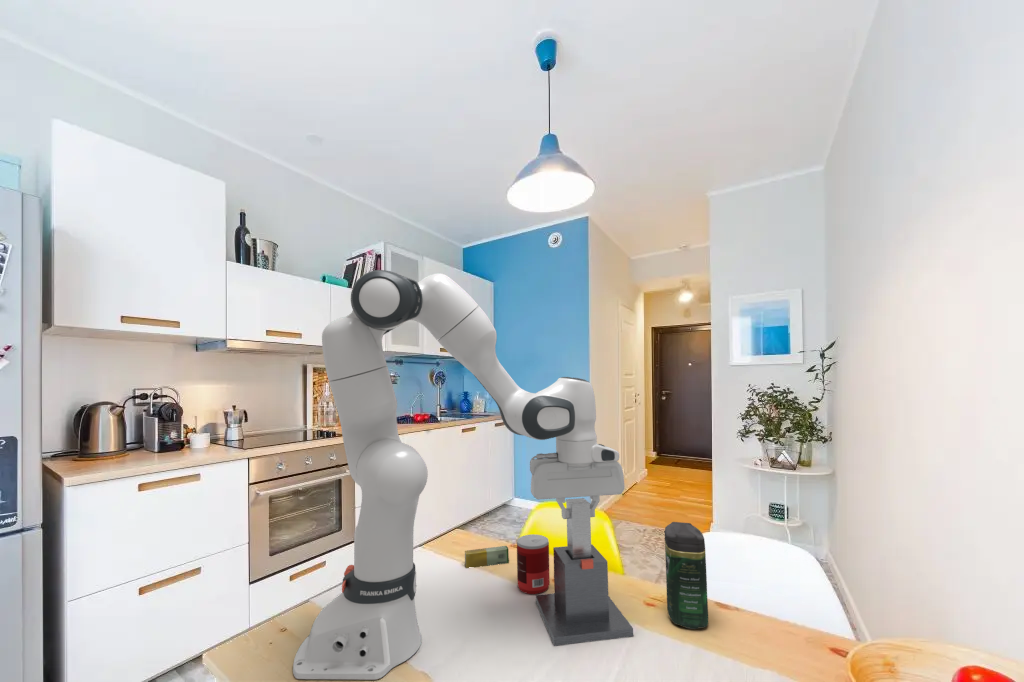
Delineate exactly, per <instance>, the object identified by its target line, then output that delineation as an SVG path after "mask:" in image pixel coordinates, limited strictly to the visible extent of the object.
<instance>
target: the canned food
mask: <svg viewBox="0 0 1024 682" xmlns="http://www.w3.org/2000/svg"><path fill="white" fill-rule="evenodd" d="M516 568H517V569H516V571H517V573H516V574H517V575H516V576H517V579H516V580H517V587H518V589H519V591H521V592H522V593H524V594H529V595H541V594H544V592H547V591H548V589H549V588H550V580H551V579H550V541H549V538H548V537H546V536H544V535H542V534H541V535H540V534H525V535H522V536H520V537H518V538H517V540H516Z"/></svg>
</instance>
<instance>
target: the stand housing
mask: <svg viewBox="0 0 1024 682" xmlns="http://www.w3.org/2000/svg"><path fill="white" fill-rule="evenodd" d="M591 557H592V558H589V559H577V560H571V559H570V557H569V556H568V549H567V545H566V546H555V547H553V585H554V588H553V589H554V591H553V593H552V592H551V593H541V594H535V604H536V607H537V609H538V611H539V613H540V616H541V618H542V620H543V623H544V625H545V628H546V630H547V633H548V635H549V638H550V640H551V643H552V644H553V645H552V646H553V647H555V646H556V647H557V646H564V645H572V644H580V643H583V644H584V643H588V642H589V643H591V642H599V641H604V640H605V641H606V640H615V639H616V640H617V639H621V638H622V639H624V638H629V637H630V638H631V637H632V638H633V637H634V628H633V626H632V625H631V623H630V622H629V621H628V619H626V617H625V615H624V614H623V613H622V611H621V610H620V609H619V608H618V606H617V605H616V604H615V603H614V601H613V600H612V599H611V597H610V596H609V575H608V574H609V571H608V568H609V567H608V560H607V559H606V557H604V556H603V554H602V553H600V551H599V549H597V548H596V547H595V546H594V544H592V543H591Z"/></svg>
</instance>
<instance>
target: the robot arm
mask: <svg viewBox="0 0 1024 682" xmlns="http://www.w3.org/2000/svg"><path fill="white" fill-rule="evenodd" d="M351 289H352V290H351V292H350V304H351V308H352V312H350V314H348V315H347V316H343V317H339V318H336V319H334V320H333V321H331V322H330V323H328V324H327V325H326V326H325V327H324V329H323V331H322V333H321V347H322V355H323V362H324V367H325V372H326V375H327V379H328V382H329V387H330V390H331V393H332V397H333V400H334V404H335V407H336V411H337V415H338V418H339V424H340V428H341V434H342V441H343V447H344V452H345V456H346V461H347V466H348V471H349V474H350V476H351V478H352V480H353V482H355V484H356V485H358V486H359V487H360V490H361V503H360V509H359V514H358V515H359V516H358V520H357V521H358V522H357V525H356V526H355V529H354V543H353V544H354V545H353V546H354V547H353V548H354V552H353V564H349V565H347V567H346V568H345V571H344V572H343V577H342V584H341V593H340V594H339V595H338V596H337V597H335V598H334V599H333V600H331V601H330V602H328V604H326V606H324V607H323V608H322V609H321V610H320V612H319V613H318V614H317V616H316V618H315V620H314V621H313V624H312V626H311V630H310V632H309V635H308V636H307V637H306V638H305V639H304V640H303V641H302V643H300V646H299V648H298V649H297V652H296V654H295V656H294V660H293V663H292V673H293V676H294V678H295V679H297V680H361V681H362V680H367V681H368V680H370V681H371V680H375V681H376V680H378V679H381V678H383V677H384V676H385V675H387V674H388V673H389V672H390V671H391V670H392V669H394V667H397V666H398V665H399V664H402V663H404V662H405V661H407V660H409V659H410V658H411V657H412V656H413V655H414V654H416V652H417V651H418V650H419V649H420V647H421V644H422V640H423V639H422V638H423V637H422V634H421V631H420V627H419V622H418V617H417V611H416V610H417V609H416V602H415V600H416V599H415V597H416V593H417V570H416V564H415V562H414V531H415V530H414V529H415V528H414V526H415V519H416V513H417V508H418V504H419V499H420V496H421V494H422V493H423V491H424V489H425V487H426V485H427V482H428V475H429V474H428V467H427V464H426V461H425V459H424V458H423V457H422V455H421V454H420V453H419V452H418V450H416V448H414V447H413V446H411V445H409V444H407V443H404V442H402V440H401V438H400V436H399V430H398V420H397V408H398V400H397V398H396V392H395V389H394V385H393V382H392V378H391V374H390V371H389V368H388V364H387V360H386V357H385V354H384V350H383V349H384V348H383V336H384V335H385V334H388V333H390V332H391V331H393V330H394V329H396V328H398V327H400V326H402V325H403V324H404V323H406V322H408V321H413V322H414V321H415V322H417V323H419V324H421V325H422V326H423V327H425V329H427V331H429V333H430V334H431V335H432V337H434V339H435V340H436V341H437V342H438V343H439V344H440V346H442V347H443V349H445V350H446V351H447V353H448V354H449V355H451V356H452V358H454V359H455V360H456V361H458V362H459V363H460V365H462V366H463V367H465V368H466V369H467V370H468V371H469V372H470V373H472V375H473V376H474V377H475V378H476V380H477V381H478V382H479V383H480V384H481V386H482V387H483V388H484V389H485V391H486V392H487V393H488V394H489V395H490V397H491V398H492V399H493V401H494V402H495V404H496V405H497V408H498V410H499V413H500V417H501V419H502V422H503V424H504V425H505V427H506V429H508V430H509V432H511V433H513V434H515V435H519V436H525V437H527V438H530V439H534V440H537V441H545V440H550V439H554V438H555V445H556V446H555V452H549V453H542V452H541V453H537V454H536V455H534V456H532V457H531V459H530V462H529V471H530V473H531V479H530V493H531V495H532V496H533V497H534V498H535V499H536V500H551V499H552V500H553V499H555V501H556V503H557V505H558V506H559V508H560V509H561V518H562V519H563V520H567V519H570V518H571V517H570V510H569V509H568V508H566V507H565V505H564V504H565V503H566V498H567V499H572V498H585V497H586V498H587V497H590V499H591V502H590V518H594V517H596V509H597V507H598V505H599V503H600V497H601V496H617V495H622V494H623V492H624V490H625V476H624V470H623V467H622V465H621V463H620V462H618V461H619V460H620V452H619V451H618V450H616V449H614V448H612V447H609V446H606V445H604V444H602V443H598V441H597V440H598V437H597V432H596V430H595V429H596V428H595V426H596V425H595V424H596V421H597V409H596V408H597V407H596V396H595V391H594V388H593V385H592V383H590V382H589V380H587V379H584V378H579V377H570V376H560V377H559V378H558V379H557V380H556V381H555V382H553V383H552V384H550V385H548V386H547V387H546V388H543V389H541V390H539V391H537V392H529V391H527V390H525V389H523V388H521V387H520V386H519V385H518V384H517V382H515V380H514V379H513V378H512V377H511V375H510V374H509V373H508V372H507V370H506V369H505V367H504V366H503V365H502V363H500V360H499V358H498V357H497V352H496V344H497V340H498V339H497V330H496V328H495V327H494V325H493V322H491V319H490V318H489V316H488V315H487V313H486V312H485V311H484V310H483V309H482V307H481V306H480V305H479V304H478V303H477V302H476V301H475V299H474V298H473V297H472V296H471V295H470V294H469V293H468V292H467V291H465V289H464V288H463V287H462V286H460V285H459V284H458V283H457V282H456V281H454V280H453V278H451V277H449V276H448V275H446V274H444V273H440V272H439V273H432V274H429V275H427V276H425V277H423V278H422V279H421V280H420V281H416V280H415V279H412V278H409V277H407V276H404V275H401V274H399V273H397V272H393V271H391V270H386V269H385V270H384V269H375V270H371V271H368V272H365V274H363V275H361V276H360V277H358V278H357V280H356V281H355V283H354V284H353V287H352V288H351Z"/></svg>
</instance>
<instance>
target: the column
mask: <svg viewBox="0 0 1024 682" xmlns="http://www.w3.org/2000/svg"><path fill="white" fill-rule="evenodd" d="M565 503H566V507H565V508H568V509H569V510H570V517H571V518H570V519H566V539H567V541H566V542H567V545H566V546H567V549H568V556H569V557H570V559H571V560H577V559H589V558H592V557H591V544H592V533H591V531H592V530H591V528H592V527H591V526H592V524H591V517H590V504H591V502H589V501H588V500H587V499H586V498H585V497H575V498H567V499H566V498H565Z"/></svg>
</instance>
